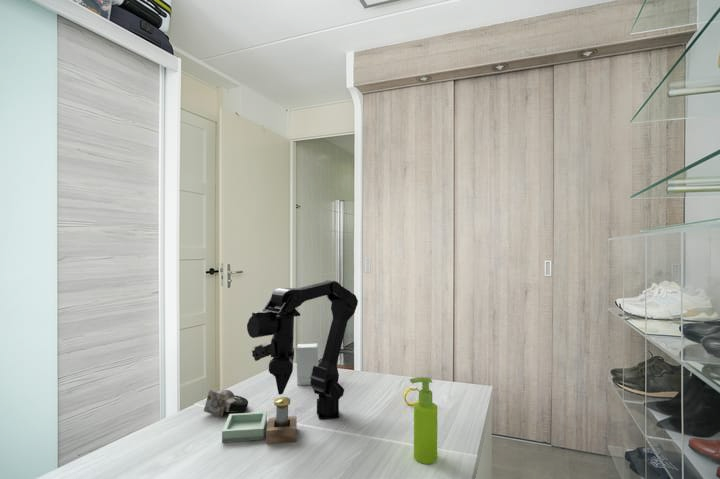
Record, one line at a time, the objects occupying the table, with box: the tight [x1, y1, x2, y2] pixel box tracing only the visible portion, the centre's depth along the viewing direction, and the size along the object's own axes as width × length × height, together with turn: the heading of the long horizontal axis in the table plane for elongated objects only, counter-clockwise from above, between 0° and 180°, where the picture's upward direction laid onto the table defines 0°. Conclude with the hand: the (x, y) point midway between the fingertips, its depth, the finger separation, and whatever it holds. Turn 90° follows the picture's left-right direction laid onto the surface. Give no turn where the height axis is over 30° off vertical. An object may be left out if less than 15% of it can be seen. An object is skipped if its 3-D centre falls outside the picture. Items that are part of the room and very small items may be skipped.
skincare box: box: [295, 342, 319, 386], centre depth 152 cm, size 8×6×15 cm
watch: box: [403, 385, 420, 406], centre depth 132 cm, size 6×3×6 cm, turn 98°
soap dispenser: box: [409, 376, 438, 465], centre depth 98 cm, size 6×7×20 cm
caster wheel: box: [203, 389, 249, 418], centre depth 126 cm, size 7×11×10 cm
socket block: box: [265, 415, 298, 445], centre depth 109 cm, size 8×8×4 cm
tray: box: [221, 411, 268, 443], centre depth 111 cm, size 11×11×3 cm
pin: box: [273, 396, 291, 427], centre depth 109 cm, size 4×4×10 cm
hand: (281, 388), depth 109 cm, fingers open, 9 cm apart
